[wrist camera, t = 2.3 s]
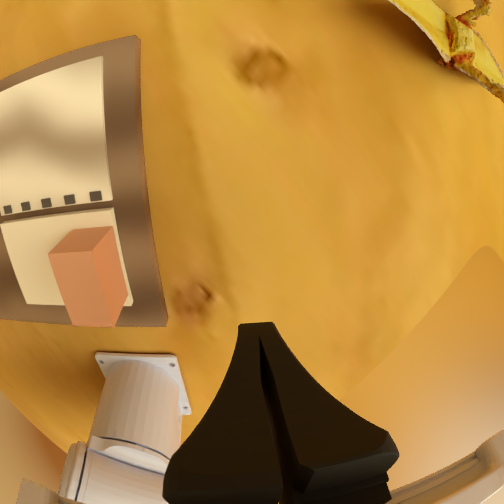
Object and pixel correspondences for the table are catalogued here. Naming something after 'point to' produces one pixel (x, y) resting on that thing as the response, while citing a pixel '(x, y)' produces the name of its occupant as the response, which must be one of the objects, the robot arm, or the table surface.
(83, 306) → the stub
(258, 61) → the table surface
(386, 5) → the table surface
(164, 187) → the table surface
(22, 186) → the board
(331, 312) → the table surface
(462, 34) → the origami crane
